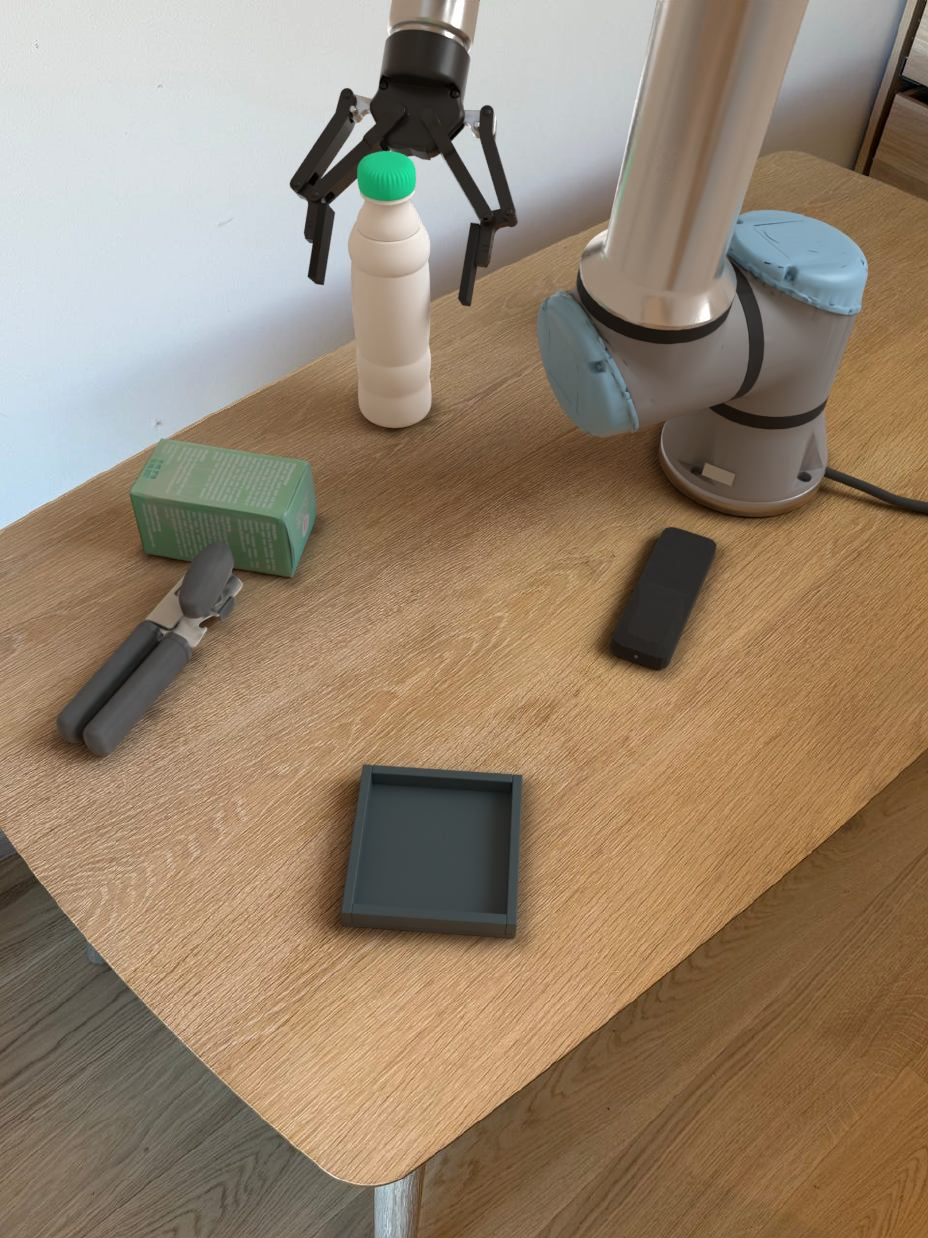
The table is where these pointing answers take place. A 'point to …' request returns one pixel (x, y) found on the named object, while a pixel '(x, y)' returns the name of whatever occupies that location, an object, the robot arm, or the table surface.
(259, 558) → the box
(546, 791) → the table surface
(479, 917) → the tray
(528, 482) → the table surface
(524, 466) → the table surface
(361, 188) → the water bottle
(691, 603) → the remote control
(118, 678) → the can opener
